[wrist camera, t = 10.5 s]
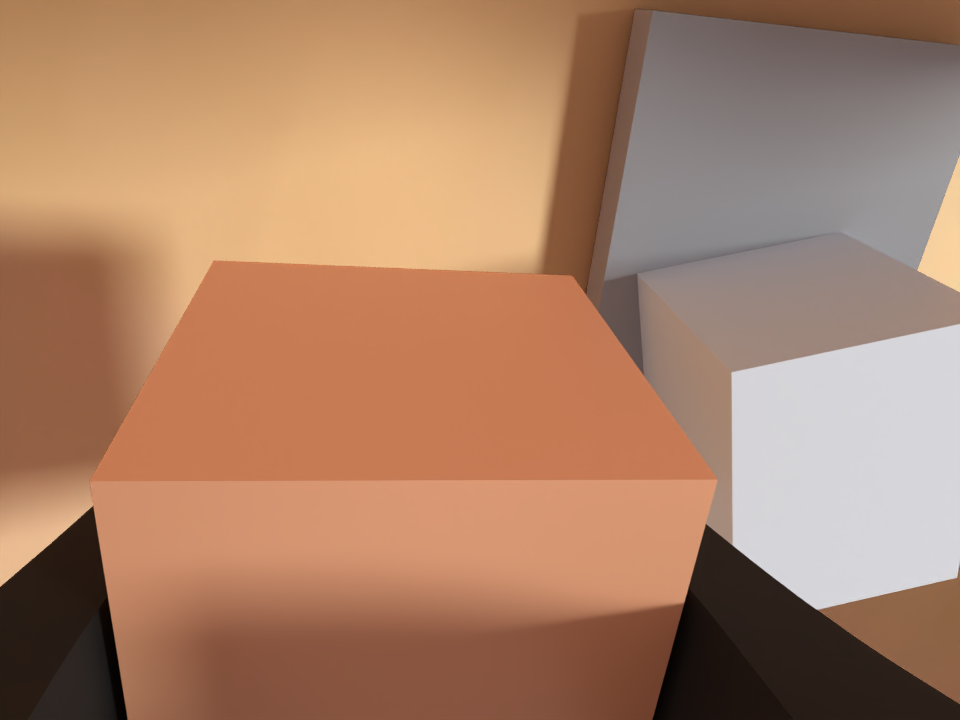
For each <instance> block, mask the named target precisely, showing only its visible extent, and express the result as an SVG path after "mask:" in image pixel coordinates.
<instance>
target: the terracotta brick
mask: <svg viewBox="0 0 960 720" xmlns="http://www.w3.org/2000/svg"><path fill="white" fill-rule="evenodd" d="M717 481H718V479H717V478H716V476H715V475H714V473H713V472H712V471H711V469H710V468H709V466H708V465H707V464H706V462H705V461H704V459H703V458H702V457H701V455H700V454H699V452H698V451H697V450H696V448H695V447H694V445H693V444H692V443H691V441H690V440H689V438H688V437H687V436H686V434H685V433H684V431H683V430H682V429H681V427H680V426H679V424H678V423H677V422H676V420H675V419H674V417H673V416H672V415H671V413H670V412H669V410H668V409H667V408H666V406H665V405H664V403H663V402H662V401H661V399H660V398H659V396H658V395H657V394H656V392H655V391H654V389H653V388H652V387H651V385H650V384H649V382H648V381H647V380H646V378H645V377H644V375H643V374H642V373H641V371H640V370H639V368H638V367H637V366H636V364H635V363H634V361H633V360H632V359H631V357H630V356H629V354H628V353H627V351H626V350H625V349H624V347H623V346H622V344H621V343H620V342H619V340H618V339H617V337H616V336H615V335H614V333H613V332H612V330H611V329H610V328H609V326H608V325H607V323H606V322H605V321H604V319H603V318H602V316H601V315H600V314H599V312H598V311H597V309H596V308H595V307H594V305H593V304H592V302H591V301H590V300H589V298H588V297H587V295H586V294H585V293H584V291H583V290H582V288H581V287H580V286H579V284H578V283H577V281H576V280H575V279H574V277H573V276H570V275H547V274H523V273H499V272H475V271H451V270H428V269H404V268H380V267H356V266H332V265H308V264H284V263H261V262H237V261H213V263H212V265H211V266H210V268H209V270H208V272H207V274H206V275H205V277H204V279H203V281H202V282H201V284H200V286H199V288H198V290H197V291H196V293H195V295H194V297H193V298H192V300H191V302H190V304H189V305H188V307H187V309H186V311H185V313H184V314H183V316H182V318H181V320H180V321H179V323H178V325H177V327H176V329H175V330H174V332H173V334H172V336H171V337H170V339H169V341H168V343H167V345H166V346H165V348H164V350H163V352H162V353H161V355H160V357H159V359H158V361H157V362H156V364H155V366H154V368H153V369H152V371H151V373H150V375H149V376H148V378H147V380H146V382H145V384H144V385H143V387H142V389H141V391H140V392H139V394H138V396H137V398H136V400H135V401H134V403H133V405H132V407H131V408H130V410H129V412H128V414H127V416H126V417H125V419H124V421H123V423H122V424H121V426H120V428H119V430H118V431H117V433H116V435H115V437H114V439H113V440H112V442H111V444H110V446H109V447H108V449H107V451H106V453H105V455H104V456H103V458H102V460H101V462H100V463H99V465H98V467H97V469H96V471H95V472H94V474H93V476H92V478H91V479H90V481H89V482H90V488H91V494H92V501H93V507H94V513H95V519H96V525H97V532H98V538H99V544H100V550H101V556H102V563H103V569H104V575H105V581H106V587H107V594H108V600H109V606H110V612H111V619H112V625H113V631H114V637H115V643H116V650H117V656H118V662H119V668H120V674H121V681H122V687H123V693H124V699H125V705H126V712H127V718H128V720H652V719H653V716H654V712H655V708H656V705H657V701H658V697H659V694H660V690H661V686H662V683H663V679H664V675H665V672H666V668H667V664H668V661H669V657H670V653H671V650H672V646H673V642H674V639H675V635H676V631H677V628H678V624H679V620H680V617H681V613H682V609H683V606H684V602H685V598H686V595H687V591H688V587H689V584H690V580H691V576H692V573H693V569H694V565H695V562H696V558H697V554H698V551H699V547H700V543H701V540H702V536H703V532H704V529H705V525H706V521H707V518H708V514H709V510H710V507H711V503H712V499H713V496H714V492H715V488H716V485H717Z"/></svg>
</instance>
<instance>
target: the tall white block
mask: <svg viewBox="0 0 960 720" xmlns="http://www.w3.org/2000/svg"><path fill="white" fill-rule="evenodd" d="M637 282H638V296H639V311H640V326H641V341H642V355H643V370H644V377H645V378H646V380H647V381H648V382H649V384H650V385H651V387H652V388H653V389H654V391H655V392H656V394H657V395H658V396H659V398H660V399H661V401H662V402H663V403H664V405H665V406H666V408H667V409H668V410H669V412H670V413H671V415H672V416H673V417H674V419H675V420H676V422H677V423H678V424H679V426H680V427H681V429H682V430H683V431H684V433H685V434H686V436H687V437H688V438H689V440H690V441H691V443H692V444H693V445H694V447H695V448H696V450H697V451H698V452H699V454H700V455H701V457H702V458H703V459H704V461H705V462H706V464H707V465H708V466H709V468H710V469H711V471H712V472H713V473H714V475H715V476H716V478H717V479H718V481H717V485H716V488H715V492H714V496H713V499H712V503H711V507H710V510H709V514H708V518H707V521H706V524H707V525H708V526H709V527H711V528H712V529H713V530H714V531H715V532H717V533H718V534H719V535H720V536H722V537H723V538H724V539H725V540H727V541H728V542H729V543H730V544H731V545H733V546H734V547H735V548H736V549H738V550H739V551H740V552H741V553H743V554H744V555H745V556H747V557H748V558H749V559H750V560H752V561H753V562H754V563H755V564H757V565H758V566H759V567H760V568H762V569H763V570H764V571H766V572H767V573H768V574H769V575H771V576H772V577H773V578H775V579H776V580H777V581H779V582H780V583H781V584H783V585H784V586H785V587H787V588H788V589H789V590H791V591H792V592H793V593H795V594H796V595H797V596H798V597H800V598H801V599H803V600H804V601H805V602H807V603H808V604H810V605H811V606H812V607H814V608H815V609H817V610H818V609H823V608H827V607H832V606H836V605H840V604H845V603H849V602H853V601H858V600H862V599H866V598H871V597H875V596H880V595H884V594H888V593H893V592H897V591H901V590H906V589H910V588H914V587H919V586H923V585H928V584H932V583H936V582H941V581H945V580H949V579H954V578H957V576H958V570H959V564H960V292H958V291H956V290H954V289H952V288H950V287H948V286H946V285H944V284H942V283H940V282H938V281H936V280H934V279H932V278H930V277H928V276H926V275H924V274H922V273H920V272H918V271H917V270H915V269H913V268H911V267H909V266H907V265H905V264H903V263H901V262H899V261H897V260H895V259H893V258H891V257H889V256H887V255H885V254H883V253H881V252H879V251H877V250H875V249H873V248H871V247H869V246H867V245H866V244H864V243H862V242H860V241H858V240H856V239H854V238H852V237H850V236H848V235H846V234H844V233H842V232H838V233H833V234H828V235H823V236H818V237H813V238H809V239H804V240H799V241H794V242H789V243H784V244H779V245H774V246H769V247H764V248H759V249H754V250H750V251H745V252H740V253H735V254H730V255H725V256H720V257H715V258H710V259H705V260H700V261H695V262H691V263H686V264H681V265H676V266H671V267H666V268H661V269H656V270H651V271H646V272H641V273H637Z"/></svg>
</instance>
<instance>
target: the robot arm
mask: <svg viewBox="0 0 960 720" xmlns="http://www.w3.org/2000/svg"><path fill="white" fill-rule="evenodd" d="M0 720H128V718H127V712H126V705H125V699H124V693H123V687H122V681H121V674H120V668H119V662H118V656H117V650H116V643H115V637H114V631H113V625H112V619H111V612H110V606H109V600H108V594H107V587H106V581H105V575H104V569H103V563H102V556H101V550H100V544H99V538H98V532H97V525H96V519H95V513H94V507H93V506H92V507H91V508H90V509H89V510H88V511H87V512H86V513H85V514H84V515H82V516H81V517H80V518H79V519H78V520H77V521H76V522H75V523H74V524H72V525H71V526H70V527H69V528H68V529H67V530H66V531H65V532H63V533H62V534H61V535H60V536H59V537H58V538H57V539H56V540H54V541H53V542H52V543H51V544H50V545H49V546H47V547H46V548H45V549H44V550H43V551H42V552H40V553H39V554H38V555H37V556H36V557H35V558H33V559H32V560H31V561H30V562H29V563H28V564H26V565H25V566H24V567H23V568H22V569H21V570H19V571H18V572H17V573H16V574H15V575H14V576H12V577H11V578H10V579H9V580H8V581H7V582H5V583H4V584H3V585H2V586H1V587H0ZM652 720H960V704H958V703H957V702H955V701H953V700H952V699H950V698H949V697H947V696H945V695H944V694H942V693H941V692H939V691H938V690H936V689H934V688H933V687H931V686H930V685H928V684H926V683H925V682H923V681H922V680H920V679H918V678H917V677H915V676H914V675H912V674H910V673H909V672H907V671H906V670H904V669H903V668H901V667H899V666H898V665H896V664H895V663H893V662H891V661H890V660H888V659H887V658H885V657H884V656H882V655H881V654H879V653H878V652H876V651H875V650H873V649H872V648H870V647H869V646H867V645H866V644H864V643H863V642H861V641H860V640H859V639H857V638H856V637H854V636H853V635H851V634H850V633H849V632H847V631H846V630H844V629H843V628H842V627H840V626H839V625H837V624H836V623H835V622H833V621H832V620H830V619H829V618H828V617H826V616H825V615H823V614H822V613H821V612H819V611H818V610H817V609H815V608H814V607H812V606H811V605H810V604H808V603H807V602H805V601H804V600H803V599H801V598H800V597H798V596H797V595H796V594H795V593H793V592H792V591H791V590H789V589H788V588H787V587H785V586H784V585H783V584H781V583H780V582H779V581H777V580H776V579H775V578H773V577H772V576H771V575H769V574H768V573H767V572H766V571H764V570H763V569H762V568H760V567H759V566H758V565H757V564H755V563H754V562H753V561H752V560H750V559H749V558H748V557H747V556H745V555H744V554H743V553H741V552H740V551H739V550H738V549H736V548H735V547H734V546H733V545H731V544H730V543H729V542H728V541H727V540H725V539H724V538H723V537H722V536H720V535H719V534H718V533H717V532H715V531H714V530H713V529H712V528H711V527H709V526H708V525H707V524H706V525H705V529H704V532H703V536H702V540H701V543H700V547H699V551H698V554H697V558H696V562H695V565H694V569H693V573H692V576H691V580H690V584H689V587H688V591H687V595H686V598H685V602H684V606H683V609H682V613H681V617H680V620H679V624H678V628H677V631H676V635H675V639H674V642H673V646H672V650H671V653H670V657H669V661H668V664H667V668H666V672H665V675H664V679H663V683H662V686H661V690H660V694H659V697H658V701H657V705H656V708H655V712H654V716H653V719H652Z"/></svg>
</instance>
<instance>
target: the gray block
mask: <svg viewBox="0 0 960 720" xmlns="http://www.w3.org/2000/svg"><path fill="white" fill-rule="evenodd" d="M959 155H960V45H953V44H944V43H935V42H927V41H918V40H909V39H900V38H891V37H883V36H874V35H865V34H856V33H848V32H839V31H830V30H821V29H812V28H804V27H795V26H786V25H777V24H769V23H760V22H751V21H742V20H733V19H725V18H716V17H707V16H698V15H690V14H681V13H672V12H663V11H654V10H642V9H635V11H634V17H633V23H632V29H631V34H630V40H629V46H628V52H627V58H626V64H625V70H624V75H623V81H622V87H621V93H620V99H619V105H618V110H617V116H616V122H615V128H614V134H613V140H612V145H611V151H610V157H609V163H608V169H607V175H606V180H605V186H604V192H603V198H602V204H601V210H600V215H599V221H598V227H597V233H596V239H595V245H594V250H593V256H592V262H591V268H590V274H589V280H588V286H587V291H586V295H587V297H588V298H589V300H590V301H591V302H592V304H593V305H594V307H595V308H596V309H597V311H598V312H599V314H600V315H601V316H602V318H603V319H604V321H605V322H606V323H607V325H608V326H609V328H610V329H611V330H612V332H613V333H614V335H615V336H616V337H617V339H618V340H619V342H620V343H621V344H622V346H623V347H624V349H625V350H626V351H627V353H628V354H629V356H630V357H631V359H632V360H633V361H634V363H635V364H636V366H637V367H638V368H639V370H640V371H641V373H642V374H643V375H644V370H643V355H642V341H641V326H640V311H639V296H638V282H637V273H641V272H646V271H651V270H656V269H661V268H666V267H671V266H676V265H681V264H686V263H691V262H695V261H700V260H705V259H710V258H715V257H720V256H725V255H730V254H735V253H740V252H745V251H750V250H754V249H759V248H764V247H769V246H774V245H779V244H784V243H789V242H794V241H799V240H804V239H809V238H813V237H818V236H823V235H828V234H833V233H838V232H842V233H844V234H846V235H848V236H850V237H852V238H854V239H856V240H858V241H860V242H862V243H864V244H866V245H867V246H869V247H871V248H873V249H875V250H877V251H879V252H881V253H883V254H885V255H887V256H889V257H891V258H893V259H895V260H897V261H899V262H901V263H903V264H905V265H907V266H909V267H911V268H913V269H915V270H917V269H918V267H919V264H920V261H921V258H922V256H923V253H924V250H925V247H926V245H927V242H928V239H929V237H930V234H931V231H932V228H933V226H934V223H935V220H936V218H937V215H938V212H939V209H940V207H941V204H942V201H943V198H944V196H945V193H946V190H947V188H948V185H949V182H950V179H951V177H952V174H953V171H954V168H955V166H956V163H957V160H958V158H959Z"/></svg>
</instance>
